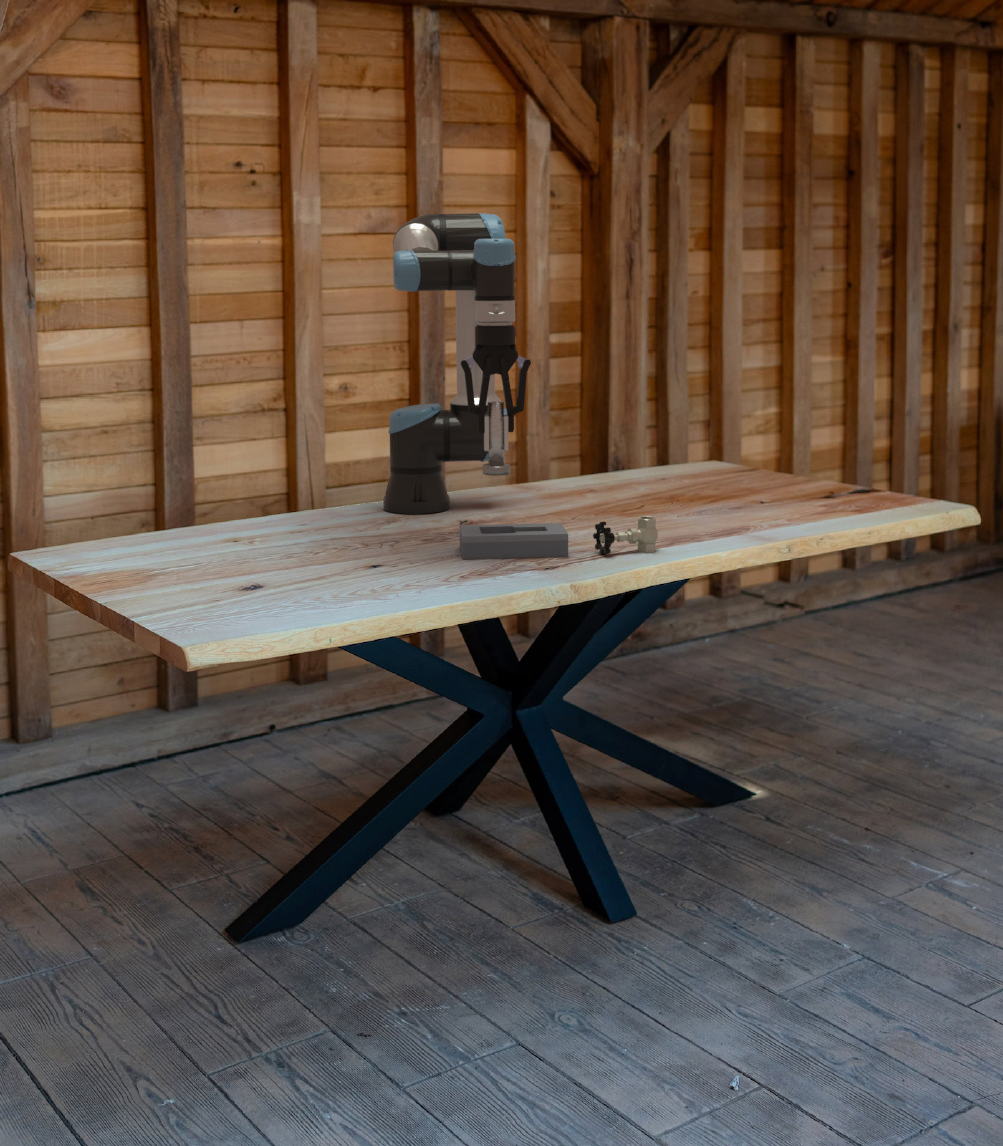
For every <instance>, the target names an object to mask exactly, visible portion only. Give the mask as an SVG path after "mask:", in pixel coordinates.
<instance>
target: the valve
mask: <svg viewBox="0 0 1003 1146" xmlns="http://www.w3.org/2000/svg"><path fill="white" fill-rule="evenodd" d="M656 522H657V518H656V517H655V516H651V515H641V516H639V517H638V520H637V528H635V527H631V528H627V530H626V532H624V531H619V532H616V533H615V534H614V533H613V532H612V529H611V527H605V526H607V522H606V521H604V520H603V521H600V522H599V523H595V524H594V529H595V530H596V533H593V534H592V537H593V540H596V541H595V542H596V543H595V544H594V549H595V550H596V551H598V554H599V556H606V555H607V554H610V553H611V551H612V550H611V547H612V544H613V543H615V541H616V542H617V543H623V542H625V541H626V542H628V543H629V545H633V544H636V543H637V552H638V553H644V554H648V553H655V552H656V541H657V540H658V537H659V536H658V535H659V533H658V529H657V527H656V526H657V523H656Z"/></svg>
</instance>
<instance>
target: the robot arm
mask: <svg viewBox="0 0 1003 1146" xmlns="http://www.w3.org/2000/svg"><path fill="white" fill-rule="evenodd" d="M392 250H393V257H392V274H393V275H392V276H393V278H392V279H393V287H394V289H396V290H397V291H401V292H410V293H413V292H414V293H415V292H428V291H429V292H431V291H432V292H433V291H438V292H439V291H455V343H456V344H455V345H456V346H455V347H456V349H455V350H456V351H455V352H456V353H455V355H456V356H455V357H456V395H454V397H453V398H452V399H450V401H449V404H450V405H449V406H450V408H449V409H442V406H441V404H440V403H437V402H435V403H421V404H414V405H408V406H404V407H401V408H397V409H394V410H393V411H391V413H390V415H389V417H388V418H389V421H388V423H389V424H388V425H389V428H388V430H387V431H388V434H389V468H390V469H389V471H390V473H389V479H388V481H387V485H386V490H385V494H384V497H383V500H382V502H383V510H384V511H386V512H390V513H395V514H407V515H422V514H431V513H432V514H433V513H435V514H436V513H440V512H445V511H447V510H450V508H451V499H450V495H449V494H448V491H447V487H446V484H445V483H446V482H445V480H444V477H443V474H442V473H443V471H442V469H443V468H442V464H443V463H447V462H448V463H449V462H451V463H452V462H453V463H454V462H481V463H484V462H488V451H489V416H488V402H494V401H498V402H503V401H502V400H501V399H500V397H499V396H498V395H497V394H496V375H500V378H501V382H502V384H501V385H502V391H503V396H504V401H505V404H504V405H505V407H504V452H505V451H509V433H513V432H514V431H515V415H516V414H519V413H522V412H523V411H524V410H525V409H524V407H525V401H526V400H525V398H526V397H525V396H526V385H527V374H528V371H529V368H530V366H531V364H532V361H531V360H530V359H529V358H524V357H522V356H521V355H519V353H518V351H517V349H516V347H517V346H516V326H515V325H514V324H513V323H514V322H515V321H516V295H515V293H516V291H515V289H516V286H515V284H516V281H515V280H516V272H515V271H516V270H515V269H516V259H517V257H516V251H515V242H514V241H513V240H512V239H511V238H507V237H506V231H505V226H504V223H503V221H502V219H501V217H500V216H499V215H497V214H493V213H481V212H478V213H430V214H423V215H419V216H417V217H415V218H412V219H409V220H408V221H406V222H405V223H404V224H403V225H400V227H399V228H398V229H397V231H396V232H395V233H394V236H393V240H392ZM516 362H517V368H518V369H519V371H518V381H517V391H516V392H517V394H516V403H515V404H516V405H515V406H514V402H513V395H512V389H511V382H510V375H509V371H510V370H511V368H513V366H514V364H515V363H516Z"/></svg>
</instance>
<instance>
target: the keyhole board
mask: <svg viewBox="0 0 1003 1146" xmlns="http://www.w3.org/2000/svg"><path fill="white" fill-rule="evenodd" d="M458 527H459V533H458V534H459V550H460V553H461V557H462V560H489V559H490V560H491V559H492V560H493V559H496V560H497V559H526V558H527V559H532V558H533V559H535V558H568V557H569V533H568V531H567V530H566V528H565V527H564V526H563V523H561V522H551V523H550V522H548V523H547V522H545V523H544V522H538V523H509V524H508V523H506V524H504V523H503V524H499V523H498V524H495V523H494V524H463V525H461V524H460V525H459V526H458Z"/></svg>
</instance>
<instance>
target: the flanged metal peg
mask: <svg viewBox="0 0 1003 1146" xmlns="http://www.w3.org/2000/svg"><path fill="white" fill-rule="evenodd" d="M504 405H505V404H504V401H502V402H498V401H494V402H488V416H489V451H488V461H487V462H488V463H484V464H482V475H485V476H492V477H493V476H507V475H510V474H511V464H510V463H505V451H504V408H505V406H504Z"/></svg>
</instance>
